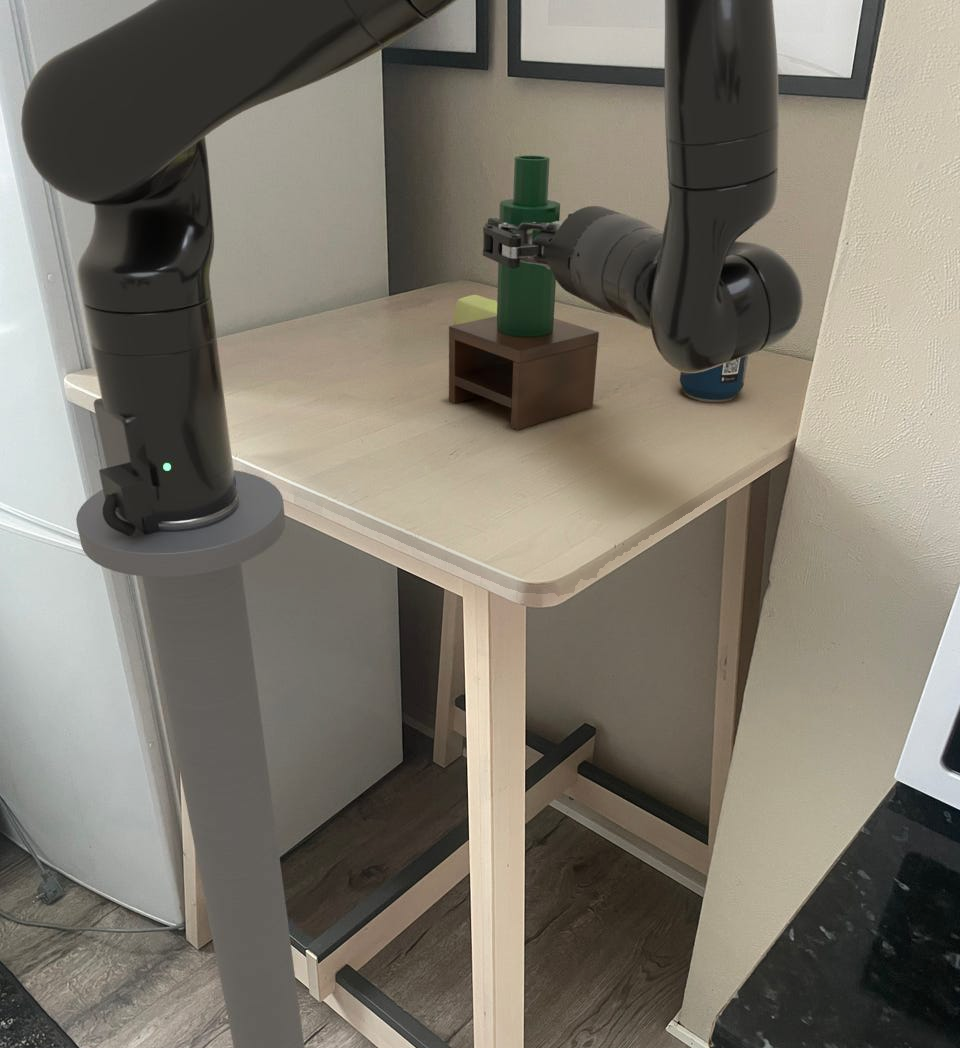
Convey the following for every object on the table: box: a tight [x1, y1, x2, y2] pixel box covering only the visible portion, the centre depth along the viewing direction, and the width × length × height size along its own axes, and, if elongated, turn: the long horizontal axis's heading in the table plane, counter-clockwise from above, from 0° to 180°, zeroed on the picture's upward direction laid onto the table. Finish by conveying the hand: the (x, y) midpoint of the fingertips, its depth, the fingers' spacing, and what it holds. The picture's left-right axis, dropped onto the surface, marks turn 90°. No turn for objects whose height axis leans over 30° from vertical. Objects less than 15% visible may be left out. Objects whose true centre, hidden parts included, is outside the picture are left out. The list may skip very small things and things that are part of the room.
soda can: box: [679, 355, 749, 403], centre depth 106 cm, size 7×7×12 cm
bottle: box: [496, 154, 561, 337], centre depth 97 cm, size 6×6×16 cm
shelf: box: [448, 316, 600, 431], centre depth 103 cm, size 11×11×8 cm
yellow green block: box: [452, 294, 497, 325], centre depth 125 cm, size 14×6×20 cm
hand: (530, 227), depth 95 cm, fingers open, 8 cm apart
